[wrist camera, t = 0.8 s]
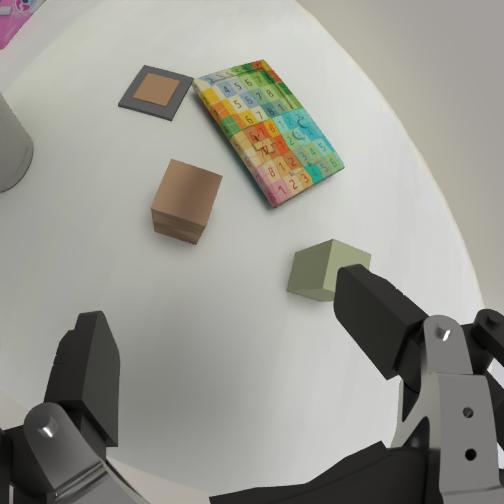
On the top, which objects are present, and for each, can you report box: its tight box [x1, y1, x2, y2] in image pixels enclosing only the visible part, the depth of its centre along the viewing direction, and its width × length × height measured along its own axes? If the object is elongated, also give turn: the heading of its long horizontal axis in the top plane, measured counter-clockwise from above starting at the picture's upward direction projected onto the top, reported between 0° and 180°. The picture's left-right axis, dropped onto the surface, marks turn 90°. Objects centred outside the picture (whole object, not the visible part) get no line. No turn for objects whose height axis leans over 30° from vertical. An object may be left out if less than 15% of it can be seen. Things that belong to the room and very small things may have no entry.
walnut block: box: [151, 159, 223, 245], centre depth 30 cm, size 5×5×9 cm
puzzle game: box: [192, 60, 345, 208], centre depth 37 cm, size 12×5×20 cm
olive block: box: [287, 239, 371, 301], centre depth 33 cm, size 5×5×9 cm
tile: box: [118, 65, 194, 121], centre depth 35 cm, size 8×8×1 cm
